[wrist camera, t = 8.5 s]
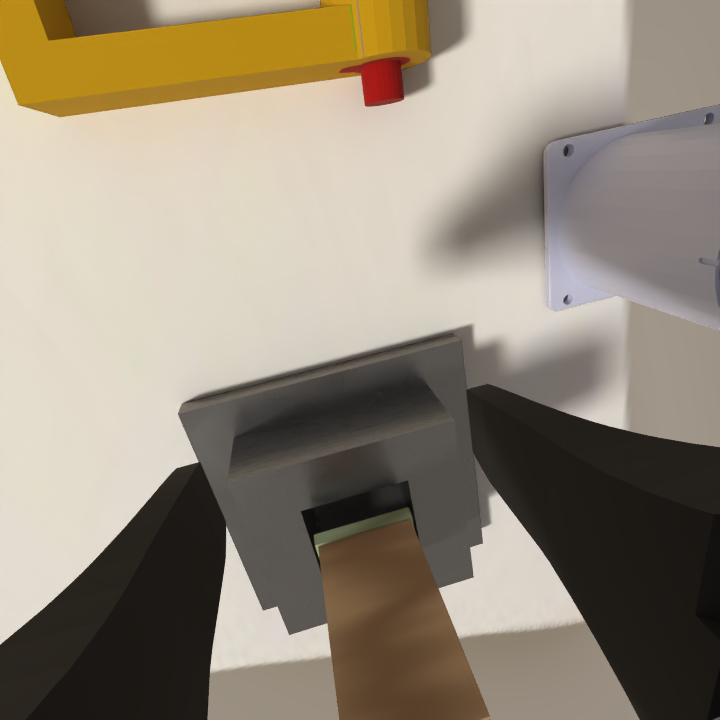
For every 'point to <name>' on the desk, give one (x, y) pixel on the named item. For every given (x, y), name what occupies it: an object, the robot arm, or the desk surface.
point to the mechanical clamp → (208, 54)
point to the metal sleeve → (341, 466)
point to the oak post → (391, 627)
